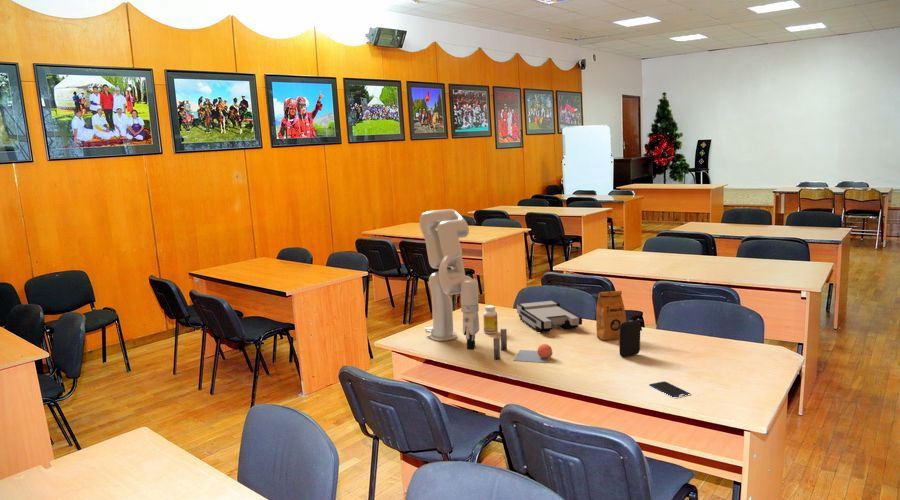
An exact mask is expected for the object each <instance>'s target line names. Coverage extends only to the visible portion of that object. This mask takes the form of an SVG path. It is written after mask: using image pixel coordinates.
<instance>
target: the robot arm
mask: <svg viewBox="0 0 900 500" xmlns="http://www.w3.org/2000/svg"><path fill="white" fill-rule="evenodd" d="M419 227H420V230H421V234H422V236H423V238H424V241H425V246H426V247H425V248H426V253H427V258H428V263H429V266H430V267H431V268H432V269H435V270H436V269H437V270H438V271H435V272H433V273H431V274H430V276H429V278H428V284H429V289H430V295H431V310H432V327H424V331H425V333H426V334H430V335H429V338H430V339H431V340H433V341H440V342H441V341H442V342H444V341H452V340H455V339H457V337H458V336H457V335H458V333H456V332H455V331H454V317H453V316H454V313H453V312H454V311H453V300H452V297H451V296H453V295H459V294H460V312H461V313H462V334H463V335H464V336H465V339H466V350H471V351H475V349H476V335H477V334H478V332H479V331H480V321H479V311H480V308H479V306H480V305H479V282H478V280H477V279H475V278H472V277H471V276H470V275H466V272H465V266H464V259H463V255H462V254H463V249H462V246H461V242H460V239H462V238H466V237H467V236H468V235H469V231H470V228H469V225H468V223H467V220H466V219H465V218H464V217H463V216H462V215H461V214H460V213H459V212H458V211H457V210H455V209H453V208H451V209H450V208H449V209H447V208H446V209H436V210H435V209H433V210H428V211H425V212H423V213H421V215H420V217H419ZM448 268H450V269H448Z"/></svg>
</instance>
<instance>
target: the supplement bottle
mask: <svg viewBox="0 0 900 500" xmlns="http://www.w3.org/2000/svg"><path fill="white" fill-rule="evenodd" d="M484 308H485V311H484V312H483V313H482V315H483V332H484V333H485V334H486V335H487V334H488V335H493V334H494V335H496V334H497V333H498V331H499V330H498V329H499V328H498V327H499V326H498V325H499V324H498V312H497V311H496V306H495V305H491V304H490V305H485V307H484Z"/></svg>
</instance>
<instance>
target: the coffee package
mask: <svg viewBox="0 0 900 500" xmlns="http://www.w3.org/2000/svg"><path fill="white" fill-rule="evenodd" d="M622 294H623V291H622V290H613V291H600V292H599V293H598V295H597V296H598V297H597V301H596V324H595V325H596V337H597V338H599V339H600V340H603V341H611V340H613V341H614V340H615V341H616V340H620V325H621V323H623V322H627V314H626V310H625V305H624V300H623V297H622Z"/></svg>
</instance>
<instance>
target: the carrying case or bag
mask: <svg viewBox="0 0 900 500" xmlns="http://www.w3.org/2000/svg"><path fill="white" fill-rule="evenodd" d="M642 331H643V328H642V325H641V323H640V322H639V320H636V319H635V320H631V321H626V322H623V323H621V325H620V339H618V340H619V341H618V342H619V345H618V346H619V350H618V351H619V356H620V357H622V358H627V357H632V356H633V357H634V356H637V355H638V354H639V353H640V350H641V332H642Z"/></svg>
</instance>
